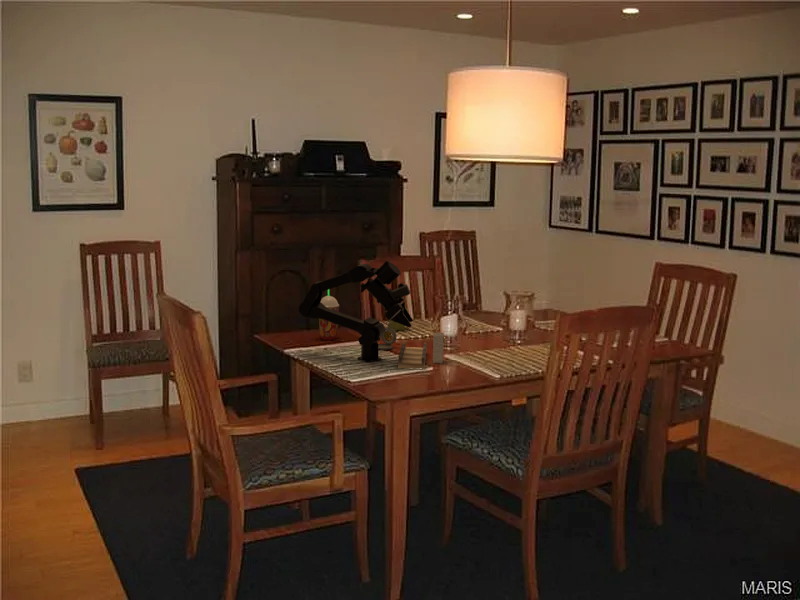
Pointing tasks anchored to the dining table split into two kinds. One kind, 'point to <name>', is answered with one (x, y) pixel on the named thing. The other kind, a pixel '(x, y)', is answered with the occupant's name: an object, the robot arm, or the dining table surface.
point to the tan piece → (412, 357)
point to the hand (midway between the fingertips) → (411, 323)
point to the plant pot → (397, 325)
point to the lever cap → (438, 347)
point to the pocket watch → (388, 335)
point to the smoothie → (328, 328)
